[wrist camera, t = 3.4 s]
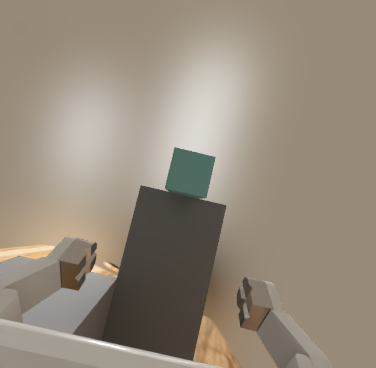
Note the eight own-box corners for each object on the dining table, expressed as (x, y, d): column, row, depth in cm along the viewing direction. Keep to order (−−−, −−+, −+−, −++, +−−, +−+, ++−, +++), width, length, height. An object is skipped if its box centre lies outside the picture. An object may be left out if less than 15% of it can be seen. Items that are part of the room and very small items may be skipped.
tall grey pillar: (174, 694, 12) (270, 210, 15) (-259, 614, 12) (-84, 126, 14) (178, 359, 38) (212, 203, 41) (42, 329, 38) (86, 174, 40)
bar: (206, 198, 20) (215, 157, 20) (164, 188, 20) (174, 147, 20) (191, 199, 44) (196, 180, 44) (173, 194, 43) (177, 176, 44)
